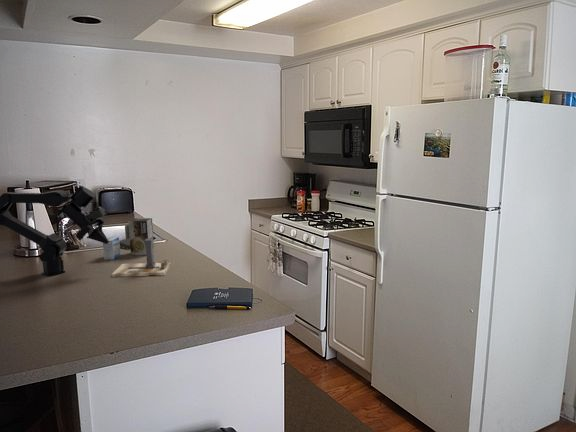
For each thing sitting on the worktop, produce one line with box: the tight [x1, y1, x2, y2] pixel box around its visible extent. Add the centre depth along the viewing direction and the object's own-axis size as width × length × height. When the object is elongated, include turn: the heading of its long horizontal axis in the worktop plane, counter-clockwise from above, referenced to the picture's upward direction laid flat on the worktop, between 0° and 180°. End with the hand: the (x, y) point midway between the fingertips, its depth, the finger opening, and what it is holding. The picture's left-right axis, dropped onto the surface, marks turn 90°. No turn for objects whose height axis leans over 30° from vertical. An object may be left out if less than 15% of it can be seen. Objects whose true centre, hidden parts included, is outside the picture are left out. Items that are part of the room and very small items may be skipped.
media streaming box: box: [119, 237, 155, 250], centre depth 229 cm, size 15×15×3 cm
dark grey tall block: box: [145, 237, 156, 268], centre depth 184 cm, size 3×4×11 cm
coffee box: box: [127, 217, 155, 256], centre depth 212 cm, size 9×6×16 cm
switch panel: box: [111, 259, 172, 278], centre depth 184 cm, size 20×14×4 cm
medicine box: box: [102, 236, 121, 261], centre depth 205 cm, size 8×4×9 cm, turn 179°
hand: (107, 242), depth 182 cm, fingers closed
